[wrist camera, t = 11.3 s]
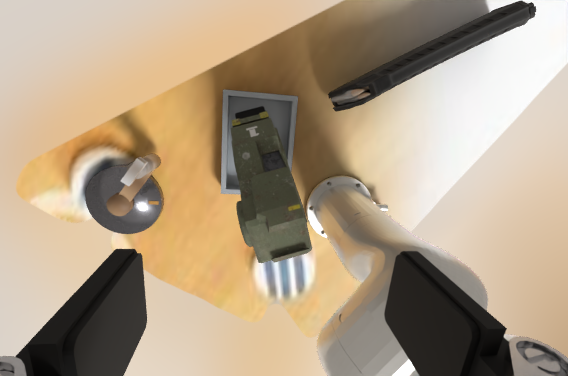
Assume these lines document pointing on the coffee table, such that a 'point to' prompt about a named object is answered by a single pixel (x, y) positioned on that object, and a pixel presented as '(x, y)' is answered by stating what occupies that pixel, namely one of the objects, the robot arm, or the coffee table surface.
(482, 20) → the magazine
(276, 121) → the tray
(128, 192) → the crank
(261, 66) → the coffee table surface
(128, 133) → the coffee table surface
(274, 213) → the mechanical leg
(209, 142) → the coffee table surface
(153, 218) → the crank base
